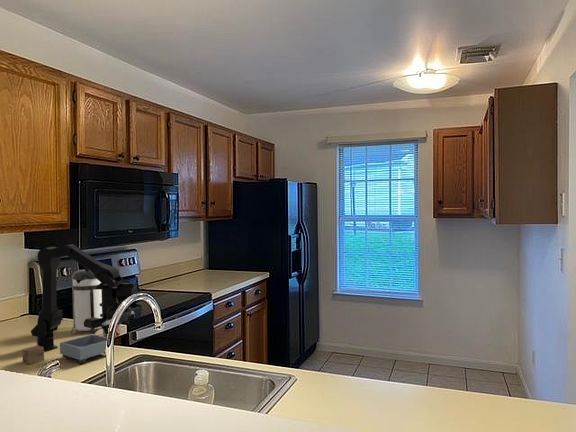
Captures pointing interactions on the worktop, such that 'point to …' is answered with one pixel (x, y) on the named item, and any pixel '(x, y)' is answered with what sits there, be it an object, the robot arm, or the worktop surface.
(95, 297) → the coffee press
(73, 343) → the cart
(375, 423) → the worktop surface
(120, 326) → the soda can
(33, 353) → the walnut block
